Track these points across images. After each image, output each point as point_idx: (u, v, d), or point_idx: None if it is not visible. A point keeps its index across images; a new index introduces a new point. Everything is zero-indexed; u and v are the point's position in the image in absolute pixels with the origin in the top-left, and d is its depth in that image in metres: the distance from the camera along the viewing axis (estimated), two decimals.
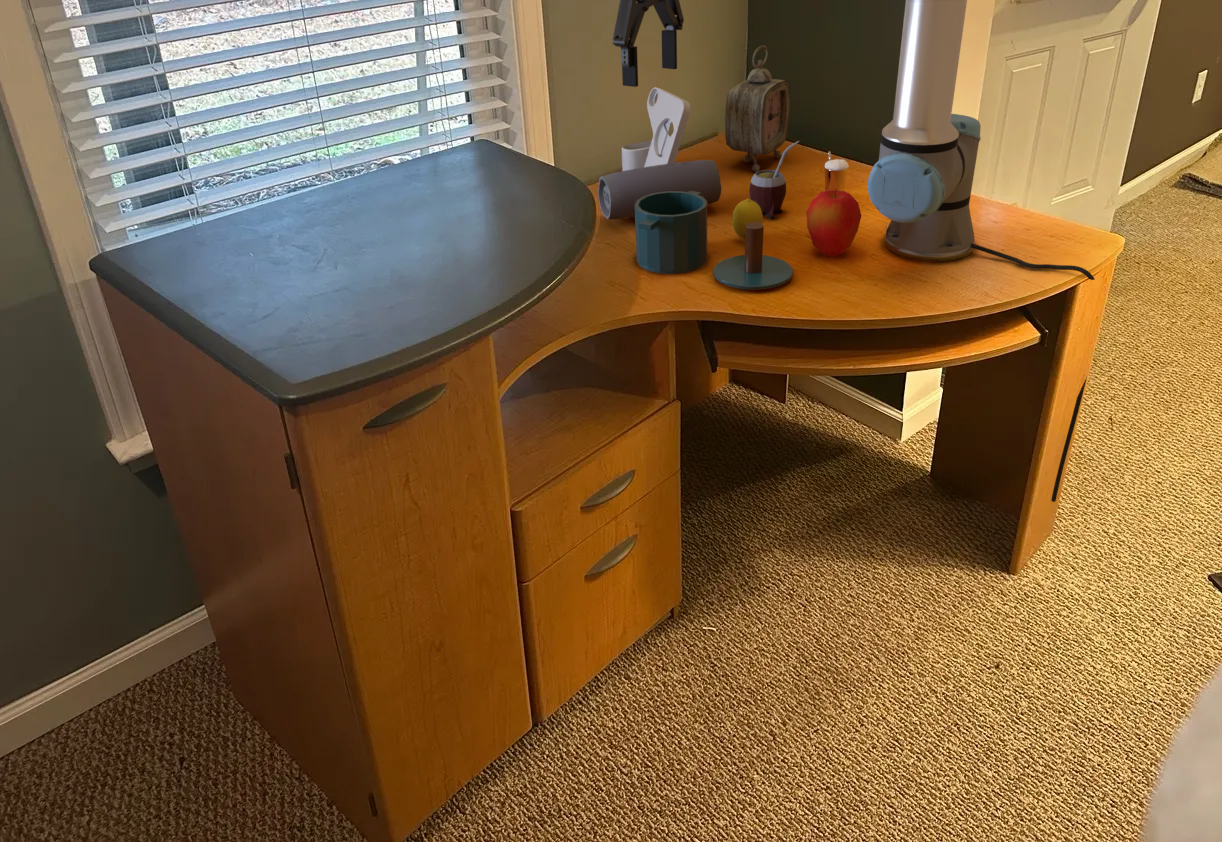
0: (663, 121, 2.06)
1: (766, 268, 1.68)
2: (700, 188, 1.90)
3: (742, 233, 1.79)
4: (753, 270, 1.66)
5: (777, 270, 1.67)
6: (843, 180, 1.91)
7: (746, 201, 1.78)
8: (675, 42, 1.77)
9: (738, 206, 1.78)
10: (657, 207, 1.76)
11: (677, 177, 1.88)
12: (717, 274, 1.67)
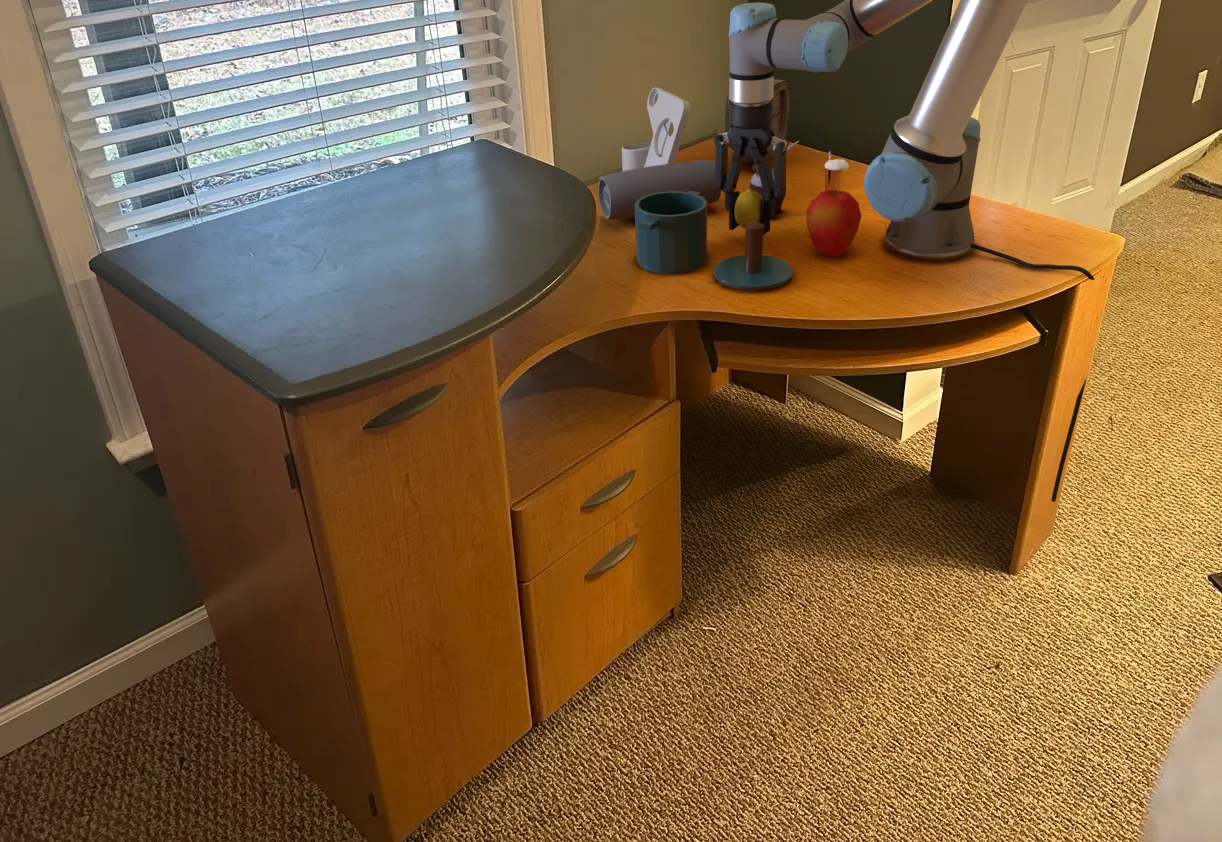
0: (663, 121, 2.06)
1: (766, 268, 1.68)
2: (700, 188, 1.90)
3: (744, 223, 1.78)
4: (753, 270, 1.66)
5: (777, 270, 1.67)
6: (843, 180, 1.91)
7: (748, 191, 1.76)
8: (761, 210, 1.76)
9: (740, 196, 1.77)
10: (657, 207, 1.76)
11: (677, 177, 1.88)
12: (717, 274, 1.67)
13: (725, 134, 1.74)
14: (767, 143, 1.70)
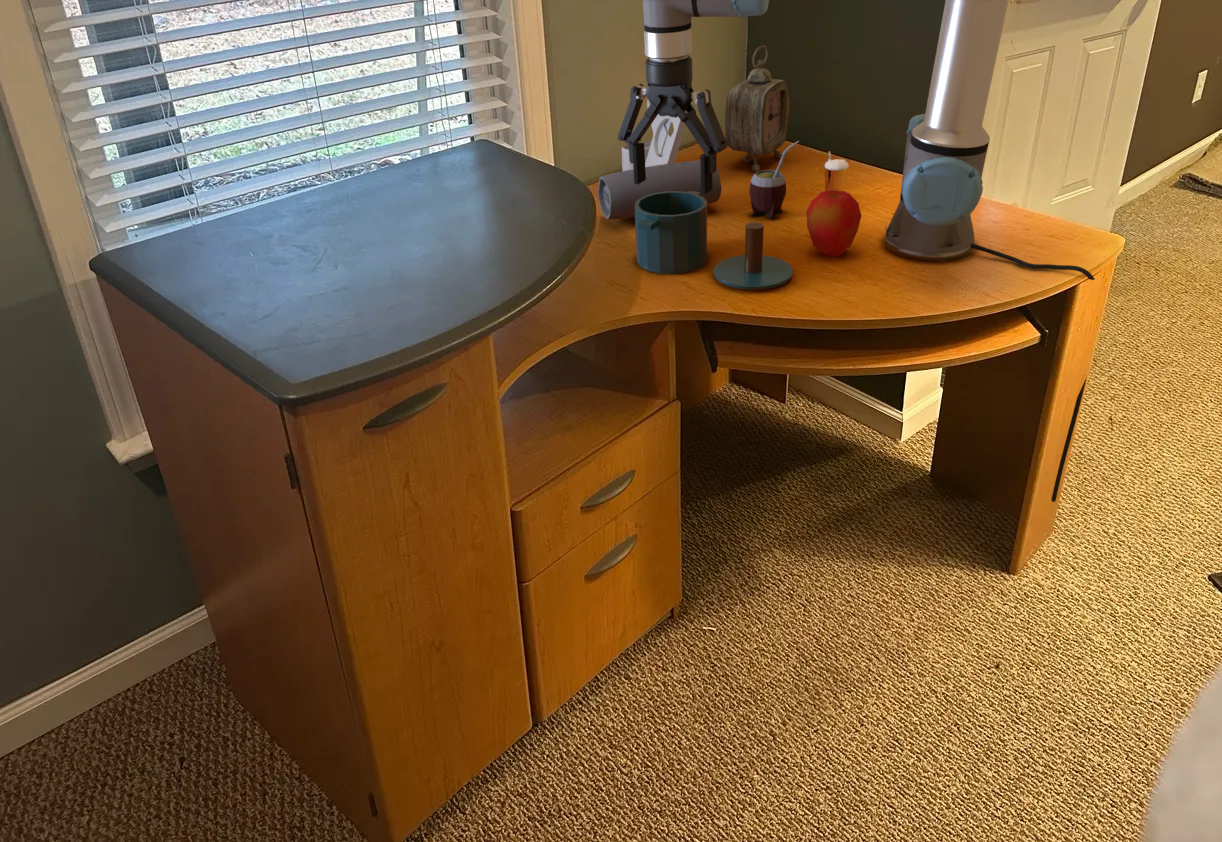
0: (663, 121, 2.06)
1: (766, 268, 1.68)
2: (700, 188, 1.90)
3: None
4: (753, 270, 1.66)
5: (777, 270, 1.67)
6: (843, 180, 1.91)
7: None
8: (702, 166, 1.62)
9: None
10: (657, 207, 1.76)
11: (677, 177, 1.88)
12: (717, 274, 1.67)
13: (643, 89, 1.62)
14: (686, 102, 1.59)
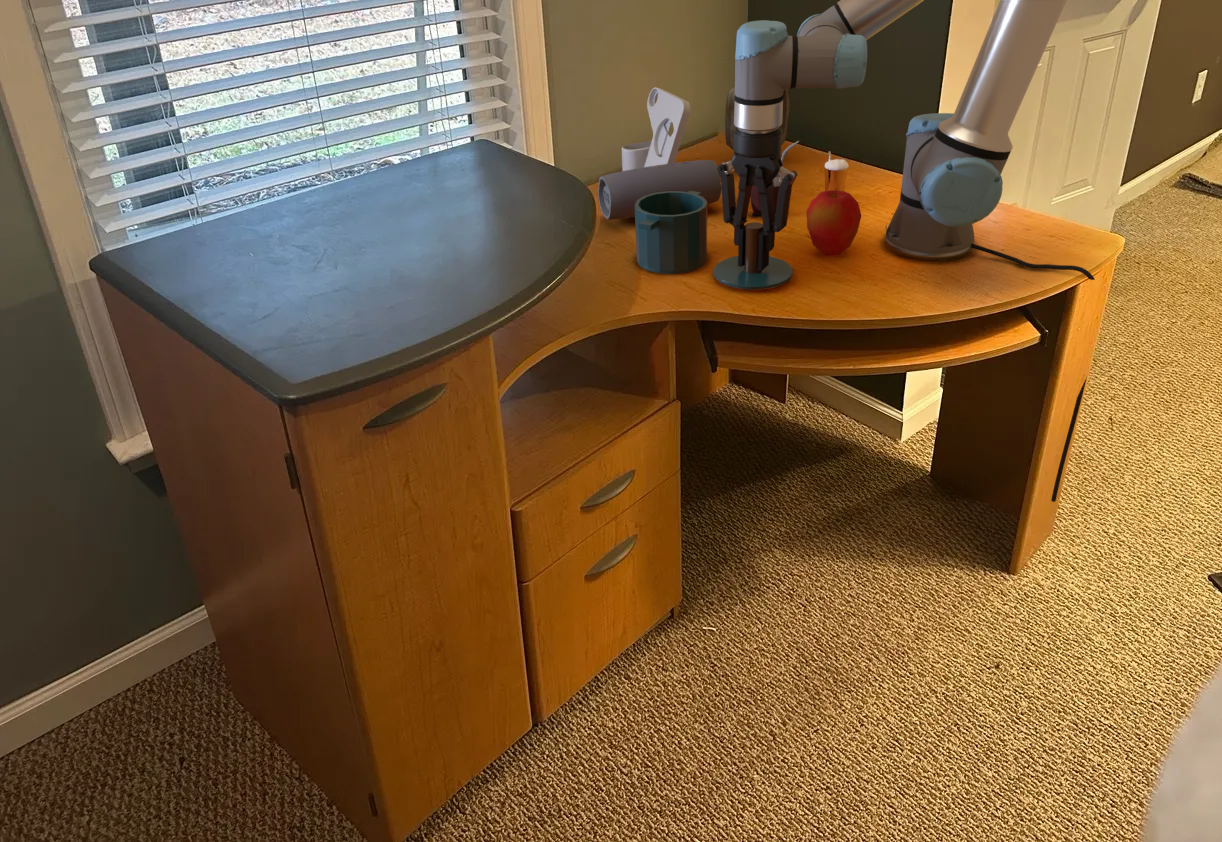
0: (663, 121, 2.06)
1: (766, 268, 1.68)
2: (700, 188, 1.90)
3: None
4: (753, 270, 1.66)
5: (777, 270, 1.67)
6: (843, 180, 1.91)
7: None
8: (760, 244, 1.63)
9: None
10: (657, 207, 1.76)
11: (677, 177, 1.88)
12: (717, 274, 1.67)
13: (729, 163, 1.60)
14: (774, 173, 1.56)
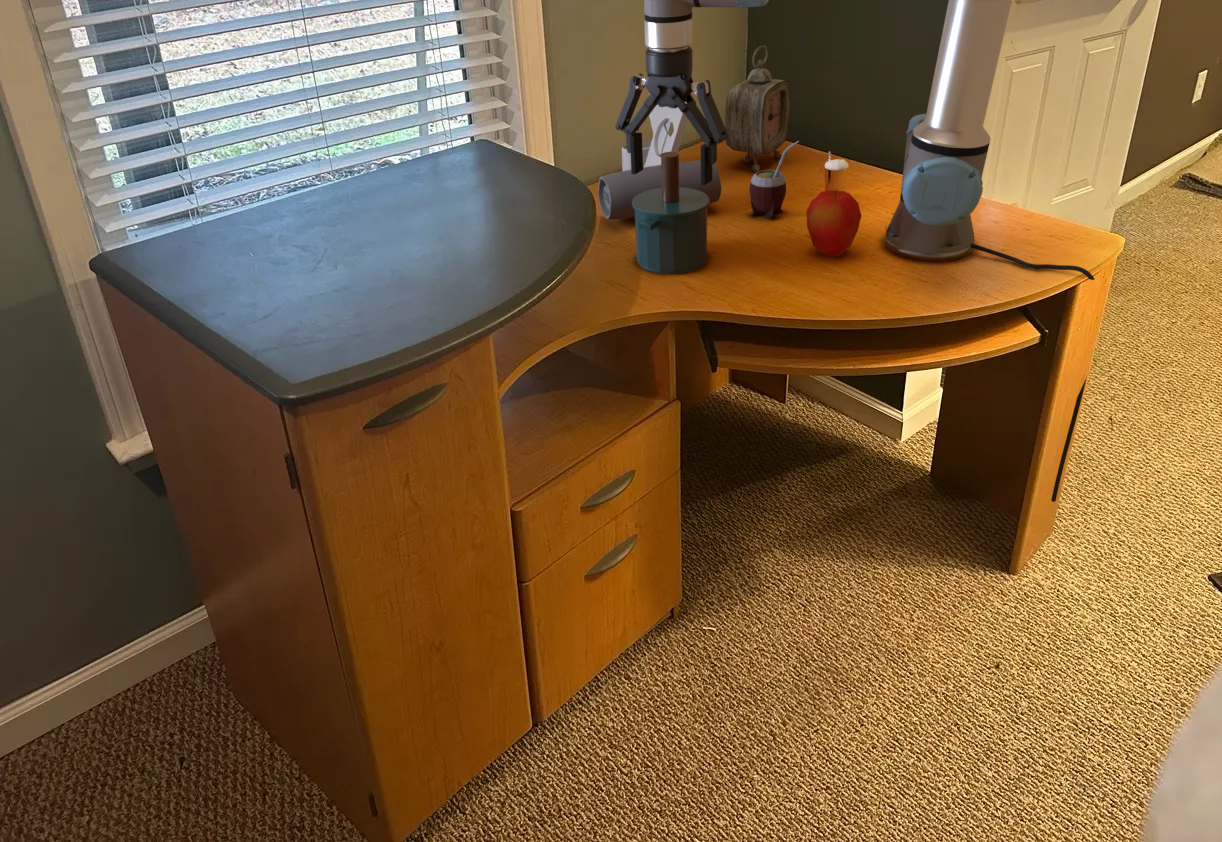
0: (663, 121, 2.06)
1: (683, 198, 1.70)
2: (700, 188, 1.90)
3: None
4: (670, 199, 1.69)
5: (694, 200, 1.70)
6: (843, 180, 1.91)
7: None
8: (702, 157, 1.61)
9: None
10: None
11: None
12: (635, 204, 1.69)
13: (643, 79, 1.61)
14: (686, 93, 1.58)
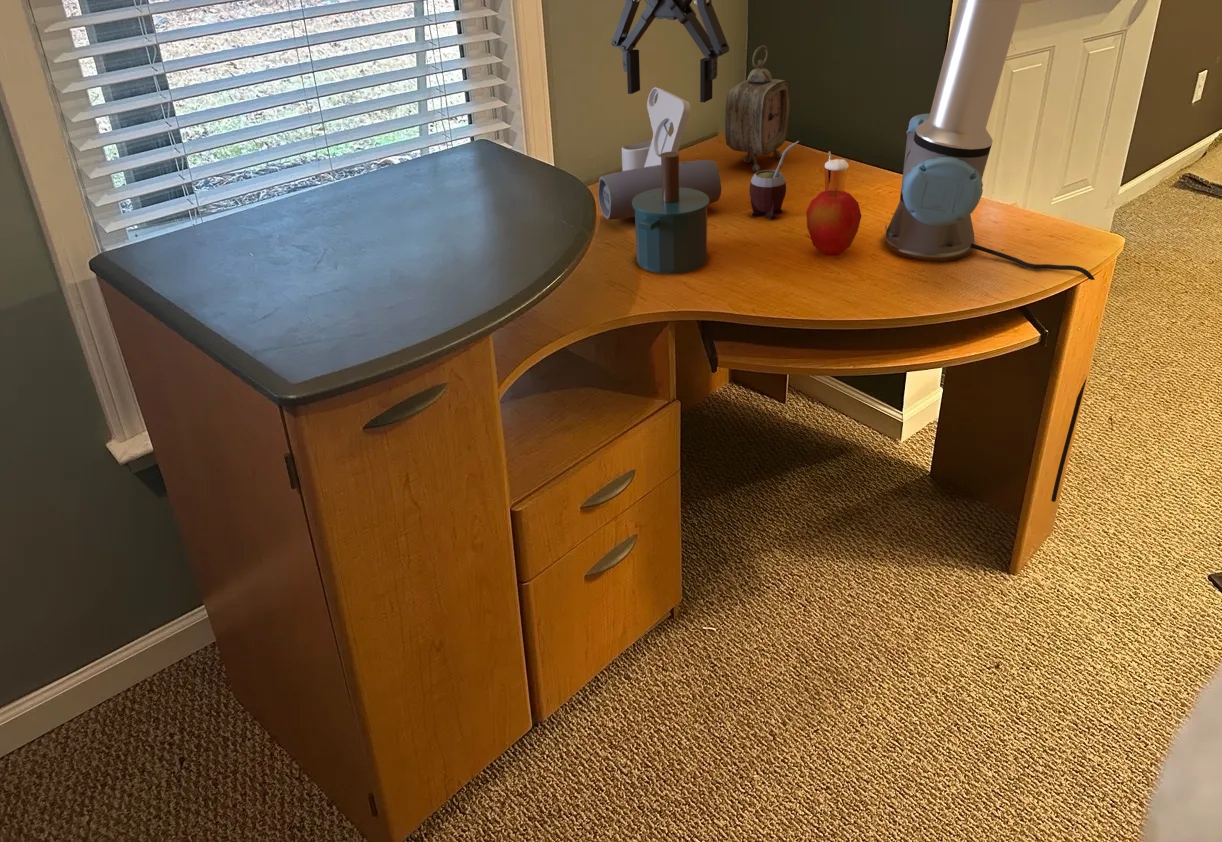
0: (663, 121, 2.06)
1: (683, 198, 1.70)
2: (700, 188, 1.90)
3: None
4: (670, 199, 1.69)
5: (694, 200, 1.70)
6: (843, 180, 1.91)
7: None
8: (702, 72, 1.54)
9: None
10: None
11: None
12: (635, 204, 1.69)
13: None
14: (685, 2, 1.51)
